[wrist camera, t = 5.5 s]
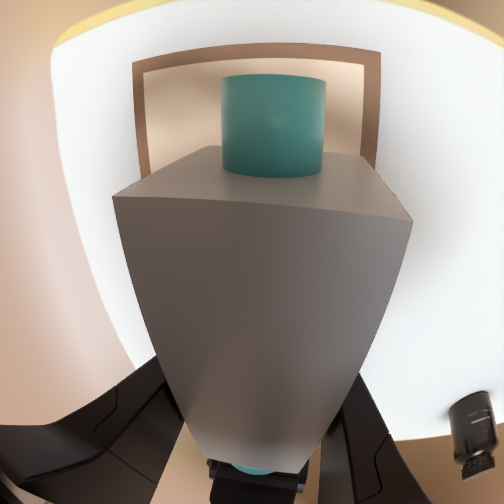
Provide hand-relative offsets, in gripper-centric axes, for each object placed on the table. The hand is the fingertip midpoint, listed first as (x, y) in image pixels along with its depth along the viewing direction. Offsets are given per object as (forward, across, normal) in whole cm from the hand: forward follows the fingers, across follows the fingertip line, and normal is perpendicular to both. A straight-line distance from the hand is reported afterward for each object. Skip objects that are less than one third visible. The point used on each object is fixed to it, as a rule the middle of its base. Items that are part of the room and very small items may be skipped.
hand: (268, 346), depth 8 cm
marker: (+1, 0, 0) cm, 1 cm away
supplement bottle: (+11, -28, +25) cm, 39 cm away
